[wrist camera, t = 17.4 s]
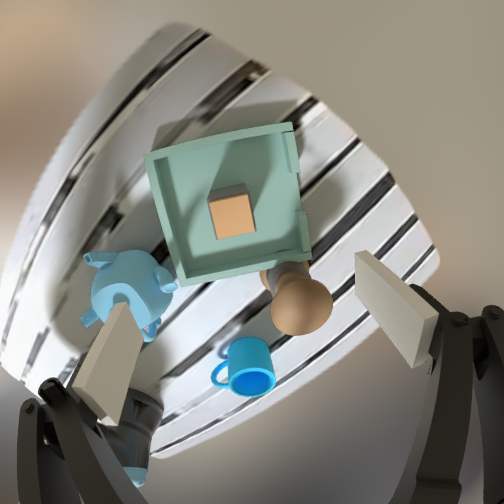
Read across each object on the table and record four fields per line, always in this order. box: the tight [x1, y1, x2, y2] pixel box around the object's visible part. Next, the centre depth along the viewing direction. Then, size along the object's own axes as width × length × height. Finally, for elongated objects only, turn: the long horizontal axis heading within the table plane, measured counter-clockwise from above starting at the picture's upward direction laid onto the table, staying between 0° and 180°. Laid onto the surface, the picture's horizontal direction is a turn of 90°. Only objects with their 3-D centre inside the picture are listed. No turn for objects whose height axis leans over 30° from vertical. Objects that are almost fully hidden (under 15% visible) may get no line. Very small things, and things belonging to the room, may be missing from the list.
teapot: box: [79, 250, 178, 342], centre depth 37 cm, size 15×14×11 cm
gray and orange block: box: [207, 183, 257, 240], centre depth 35 cm, size 5×5×8 cm
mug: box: [211, 337, 276, 397], centre depth 46 cm, size 12×8×8 cm
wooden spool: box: [260, 249, 333, 336], centre depth 39 cm, size 8×8×12 cm
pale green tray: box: [143, 122, 312, 287], centre depth 38 cm, size 20×20×4 cm
